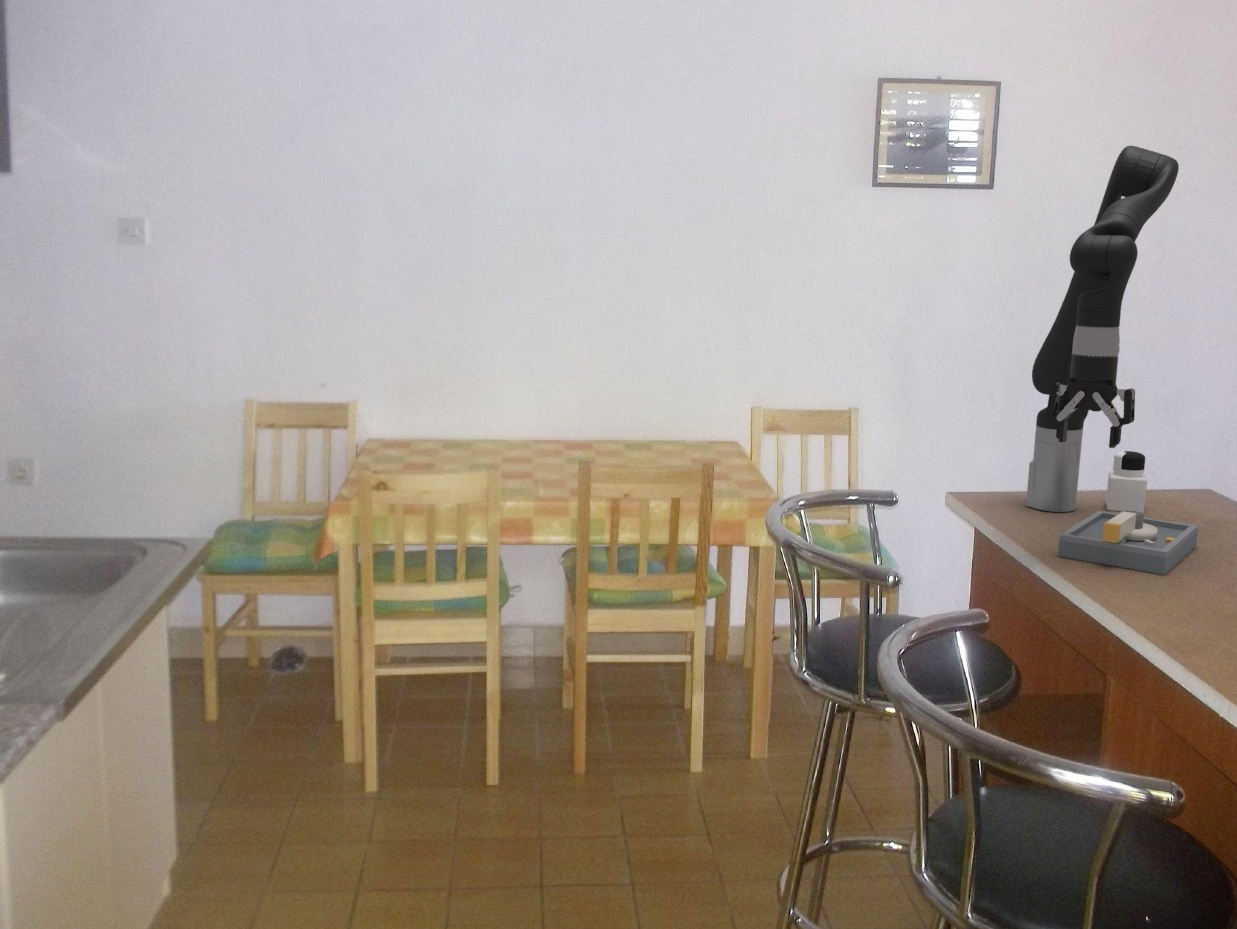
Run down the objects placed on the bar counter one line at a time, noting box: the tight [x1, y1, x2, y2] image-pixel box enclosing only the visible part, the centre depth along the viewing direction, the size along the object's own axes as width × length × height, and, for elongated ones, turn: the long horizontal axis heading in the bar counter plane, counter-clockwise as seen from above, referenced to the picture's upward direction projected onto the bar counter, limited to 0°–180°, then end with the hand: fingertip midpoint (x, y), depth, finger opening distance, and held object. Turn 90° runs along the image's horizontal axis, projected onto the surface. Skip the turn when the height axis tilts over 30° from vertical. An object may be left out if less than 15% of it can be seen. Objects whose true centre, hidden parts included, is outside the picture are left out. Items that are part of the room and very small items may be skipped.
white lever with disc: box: [1102, 511, 1158, 543], centre depth 220 cm, size 18×9×5 cm, turn 143°
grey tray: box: [1057, 510, 1199, 576], centre depth 224 cm, size 18×24×4 cm
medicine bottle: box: [1105, 450, 1148, 514], centre depth 257 cm, size 7×7×12 cm
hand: (1087, 444), depth 215 cm, fingers open, 8 cm apart
